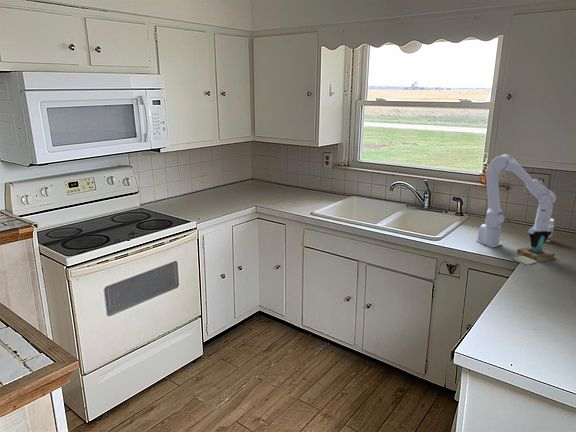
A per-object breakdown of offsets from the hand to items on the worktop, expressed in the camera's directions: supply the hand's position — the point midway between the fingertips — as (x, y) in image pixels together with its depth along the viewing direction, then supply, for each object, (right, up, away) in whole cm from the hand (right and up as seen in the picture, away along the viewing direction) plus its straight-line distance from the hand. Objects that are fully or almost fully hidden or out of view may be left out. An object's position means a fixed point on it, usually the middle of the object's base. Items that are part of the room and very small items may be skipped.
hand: (537, 246), depth 203 cm
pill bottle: (+15, +1, +21) cm, 26 cm away
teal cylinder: (0, -3, +1) cm, 3 cm away
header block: (0, -4, +1) cm, 5 cm away
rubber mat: (-8, -6, -5) cm, 12 cm away
